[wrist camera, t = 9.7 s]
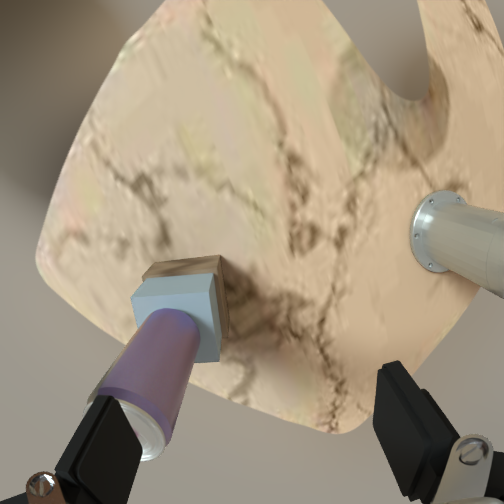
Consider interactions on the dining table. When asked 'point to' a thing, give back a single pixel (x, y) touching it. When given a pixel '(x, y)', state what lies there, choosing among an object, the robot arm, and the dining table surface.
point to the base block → (196, 267)
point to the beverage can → (153, 377)
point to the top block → (184, 307)
